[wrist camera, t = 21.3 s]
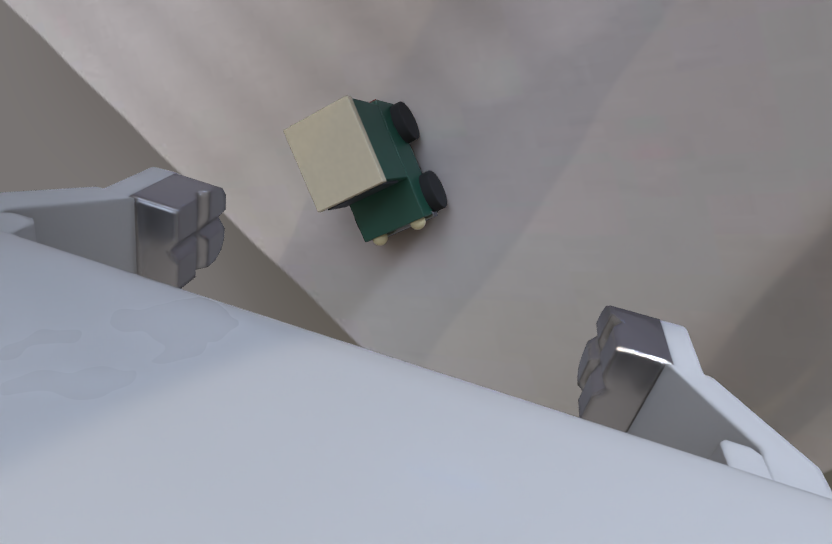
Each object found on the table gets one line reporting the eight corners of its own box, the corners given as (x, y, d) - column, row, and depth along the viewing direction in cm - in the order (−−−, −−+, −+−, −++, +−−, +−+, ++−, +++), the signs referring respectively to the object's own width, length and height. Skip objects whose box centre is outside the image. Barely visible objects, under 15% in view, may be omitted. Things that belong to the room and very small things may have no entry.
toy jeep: (335, 135, 40) (270, 130, 32) (406, 98, 37) (354, 82, 30) (382, 245, 40) (329, 266, 32) (454, 215, 38) (416, 229, 30)
